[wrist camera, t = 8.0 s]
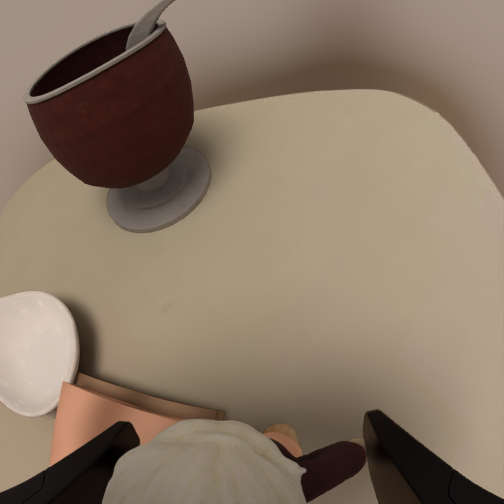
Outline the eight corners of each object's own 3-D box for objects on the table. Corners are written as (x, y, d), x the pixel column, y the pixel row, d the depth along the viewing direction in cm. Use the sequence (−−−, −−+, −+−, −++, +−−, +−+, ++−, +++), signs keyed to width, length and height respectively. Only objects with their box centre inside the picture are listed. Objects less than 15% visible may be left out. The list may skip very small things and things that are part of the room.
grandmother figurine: (205, 495, 12) (22, 590, 1) (187, 431, 14) (-29, 418, 3) (352, 461, 12) (495, 559, 1) (332, 395, 14) (442, 326, 3)
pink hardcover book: (224, 411, 20) (205, 411, 16) (198, 561, 13) (176, 586, 9) (93, 376, 22) (56, 364, 18) (74, 509, 16) (38, 516, 11)
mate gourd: (92, 248, 29) (-27, 105, 12) (117, 158, 36) (49, 32, 19) (235, 226, 28) (167, 4, 11) (231, 133, 35) (193, -24, 18)
